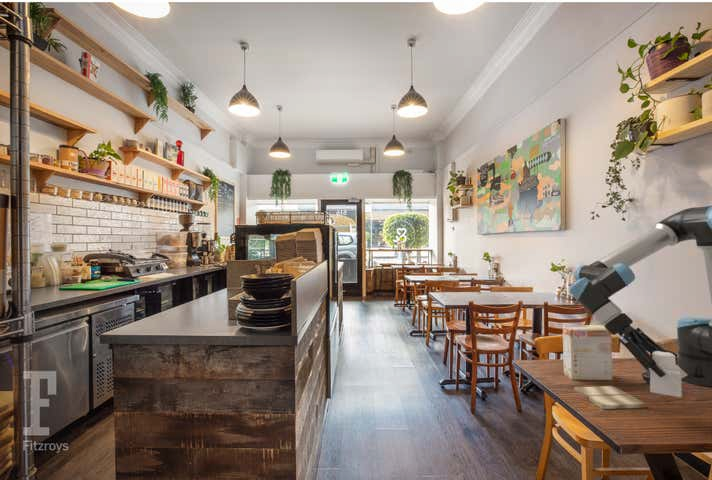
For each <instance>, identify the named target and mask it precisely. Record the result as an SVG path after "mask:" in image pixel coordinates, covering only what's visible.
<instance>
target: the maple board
mask: <svg viewBox="0 0 712 480" xmlns="http://www.w3.org/2000/svg"><path fill="white" fill-rule="evenodd" d="M573 391H574V392H576V393H577V394H579V395H580V396H582V397H583V398H585V399H587V400H588V401H589V402H591V403H592V404H594V405H596V406H598V408H600V409H602V410H610V409H612V410H615V409H638V408H639V409H641V408H642V409H643V408H647V406H646V404H647V403H645V402H643V401H641V400H640V399H638V398H637V397H634V396H632V395H630V394H629V393H627V392H625V391H623V390H621V389H619V388H617V387H616V386H614V385H605V386H604V385H603V386H577V387H575V386H574V388H573Z"/></svg>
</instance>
